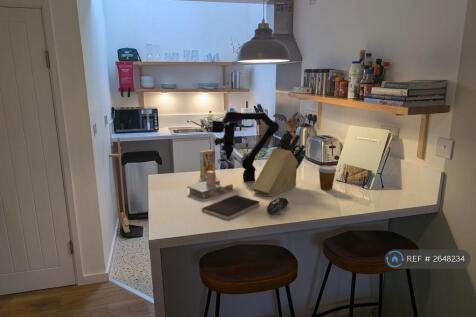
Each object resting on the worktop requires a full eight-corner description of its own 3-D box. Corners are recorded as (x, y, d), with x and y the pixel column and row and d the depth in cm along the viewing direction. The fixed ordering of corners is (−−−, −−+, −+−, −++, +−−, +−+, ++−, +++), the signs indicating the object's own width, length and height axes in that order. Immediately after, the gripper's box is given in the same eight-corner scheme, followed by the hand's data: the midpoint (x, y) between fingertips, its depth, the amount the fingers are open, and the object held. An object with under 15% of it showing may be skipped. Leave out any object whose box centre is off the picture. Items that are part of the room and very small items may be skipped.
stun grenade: (280, 206, 166) (264, 215, 156) (279, 193, 165) (263, 201, 154) (292, 208, 163) (276, 217, 152) (291, 195, 162) (276, 203, 151)
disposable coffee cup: (336, 187, 193) (337, 166, 190) (333, 192, 184) (334, 170, 182) (319, 185, 197) (320, 164, 194) (315, 190, 188) (316, 168, 185)
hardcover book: (259, 206, 166) (259, 201, 166) (228, 221, 149) (228, 216, 149) (234, 198, 176) (234, 194, 176) (201, 212, 159) (201, 207, 159)
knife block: (305, 183, 200) (307, 130, 193) (268, 198, 175) (269, 138, 168) (289, 179, 208) (290, 128, 201) (251, 193, 182) (251, 135, 175)
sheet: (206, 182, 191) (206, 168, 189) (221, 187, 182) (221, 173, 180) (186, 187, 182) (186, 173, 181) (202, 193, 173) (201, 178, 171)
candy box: (211, 172, 223) (211, 149, 219) (215, 174, 219) (215, 150, 216) (200, 175, 217) (199, 151, 214) (203, 176, 214) (203, 152, 210)
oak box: (218, 185, 197) (218, 180, 196) (232, 189, 189) (232, 184, 188) (189, 193, 184) (189, 187, 183) (203, 198, 175) (203, 192, 175)
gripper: (216, 130, 207) (215, 155, 210) (213, 134, 189) (212, 162, 192) (235, 131, 207) (233, 156, 210) (234, 136, 189) (232, 164, 192)
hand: (227, 159), depth 201 cm, fingers closed
